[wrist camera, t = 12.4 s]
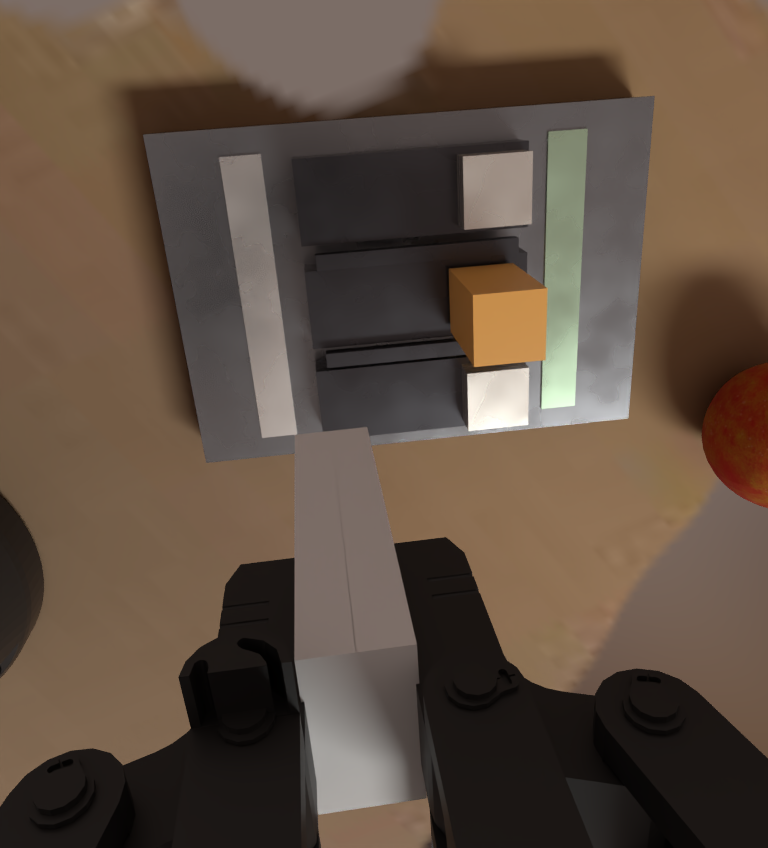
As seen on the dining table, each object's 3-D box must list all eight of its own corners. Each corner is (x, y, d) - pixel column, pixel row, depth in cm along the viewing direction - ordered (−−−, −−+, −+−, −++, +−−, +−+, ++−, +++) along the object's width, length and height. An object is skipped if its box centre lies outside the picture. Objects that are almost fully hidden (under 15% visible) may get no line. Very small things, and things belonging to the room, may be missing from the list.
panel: (211, 444, 34) (198, 491, 30) (153, 133, 28) (126, 136, 24) (611, 402, 35) (653, 442, 31) (633, 97, 30) (688, 94, 25)
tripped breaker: (450, 331, 29) (474, 367, 25) (448, 268, 28) (472, 295, 24) (512, 325, 29) (545, 360, 25) (512, 262, 28) (547, 288, 24)
